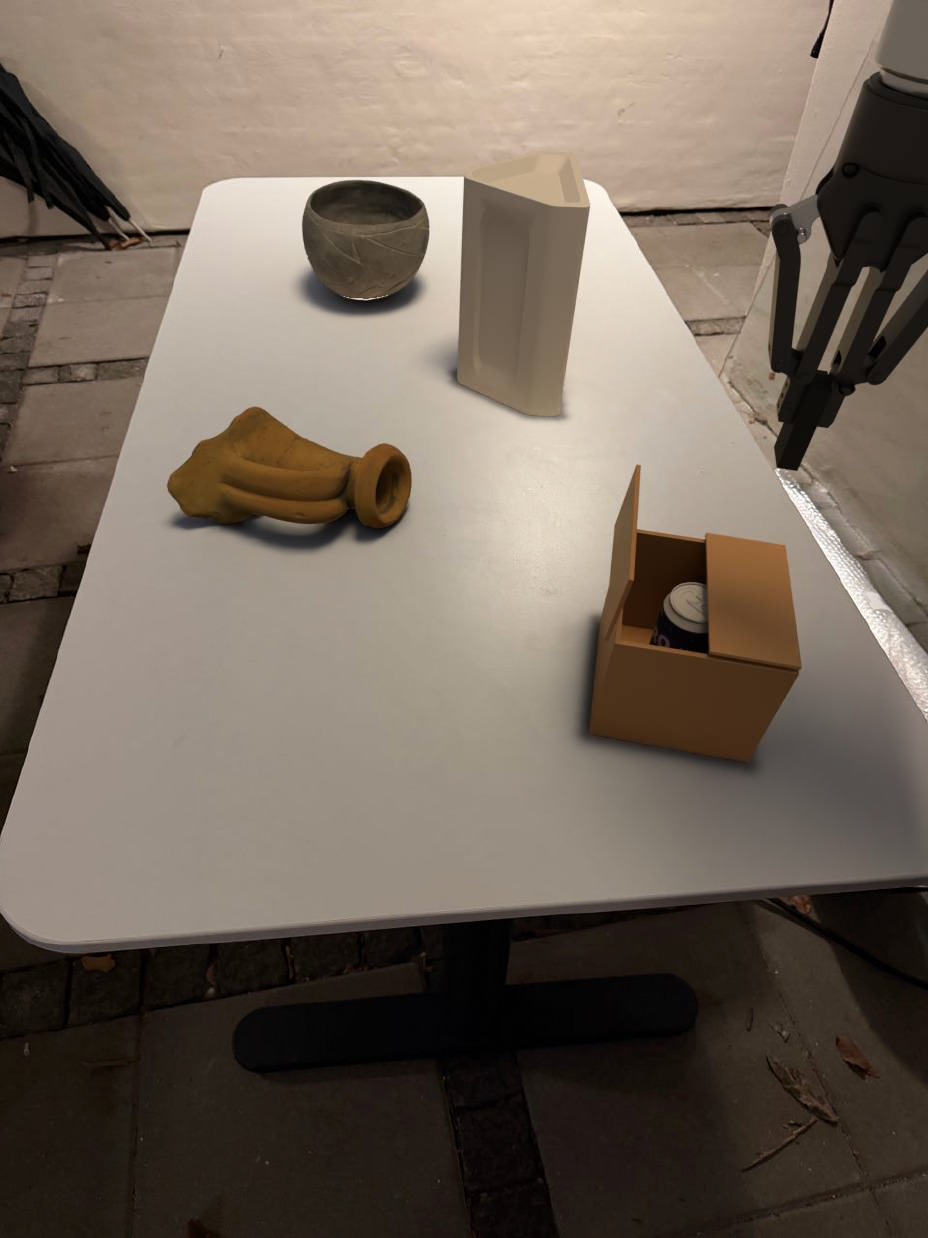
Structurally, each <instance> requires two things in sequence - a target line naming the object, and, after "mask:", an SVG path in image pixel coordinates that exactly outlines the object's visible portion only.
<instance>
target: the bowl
mask: <svg viewBox="0 0 928 1238" xmlns="http://www.w3.org/2000/svg"><path fill="white" fill-rule="evenodd" d="M426 207H427V206H426V204H425V203H424V202H423V200H422V199H421V198H420V197H418V196H417V195H416V194H414V193H413V192H411V191H409V190H407V189H406V188H402V187H399V186H397V185H396V186H395V185H392V184H389V183H386V182H381V181H375V180H369V179H368V180H365V179H346V180H339V181H334V182H331V183H328V184H325V185H323V186H321V187H318V188H317V189H315V190H313V191H312V193H311V194H309V196H308V198H307V200H306V202H305V206H304V209H303V214H302V219H301V234H302V241H303V249H304V251H305V255H306V256H307V260H308V262H309V265H310V266H311V269H312V271H313V272H314V274H315V275H316V277H317V278H318V279H319V280H320V282H322V284H323V285H325V286H326V288H328V289H329V290H331V291H332V292H333V291H334V292H333V293H335V294H336V293H337V294H336V295H338V294H339V295H338V296H340V295H342V296H345V297H349V298H363V299H369V298H377V297H382V296H386V295H390V294H392V295H394V294H396V293H397V292H399V291H400V290H402V289H403V288H404V287H406V286H408V284H409V283H410V282H412V281H413V279H414V277H415V276H416V275H417V273H418V272H419V270H420V268H421V266H422V264H423V262H424V260H425V256H426V254H427V251H428V245H429V241H430V232H431V231H430V219H429V213H428V210H427V208H426ZM395 292H396V293H395ZM393 293H394V294H393ZM342 296H341V297H342ZM390 296H391V295H390Z"/></svg>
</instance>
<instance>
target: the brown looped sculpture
mask: <svg viewBox="0 0 928 1238" xmlns="http://www.w3.org/2000/svg"><path fill="white" fill-rule="evenodd" d="M412 483H413V479H412V469H411V464H410V461H409V460H408V458H407V456H406V454H404V453H403V452H402V451H401V450H400V449H399V448H398V447H396V446H395V445H393V444H390V443H385V442H383V443H379V444H377V445H375V446H373V447H371V448H370V449H368V450H367V451H366V452H365V453H364V455H363V457H361V456H354V455H348V454H345V453H341V452H338V451H335V450H333V449H330V448H329V447H326V446H324V445H321V444H319V443H317V442H315V441H312V440H311V439H310V440H309V439H307V438H304V437H303V436H301V435H299V434H298V433H296V432H295V431H294V430H292V429H291V428H290V427H289V426H287V425H285V424H284V423H283V422H282V421H280V420H279V419H277V418H276V417H274V416H273V415H272V414H270V412H268V411H267V410H266V409H264V408H263V407H259V406H250V407H248V408H247V409H244V410H243V411H242V412H241V413H240V414H237V415H236V416H235V417H234V418H233V419H232V421H231V422H230V423H229V425H228V427H226V428H225V430H222V432H220V433H219V434H217V435H215V436H213V437H211V438H210V437H209V438H207V439H202V440H200V441H199V442H198V443H197V444H196V446H195V447H194V449H193V450H192V452H191V455H190V456H189V457H188V458H187V460H185V462H183V463H182V464H181V465H180V466H179V467H178V468H177V469H175V470H174V471H172V473H171V474H169V477H168V480H167V484H166V488H167V492H168V493H169V494H170V496H171V497H172V498H173V499H174V500H175V502H176V503H177V504H178V507H179V508H180V510H181V511H182V513H183V515H185V516H186V517H187V518H192V519H198V520H211V521H213V522H214V523H219V524H224V525H225V524H226V525H227V524H229V525H230V524H236V523H239V522H242V521H244V520H245V519H247V518H249V517H250V516H252V515H257V516H262V517H266V518H269V519H272V520H273V519H274V520H277V521H281V522H287V523H293V524H298V525H320V524H321V525H322V524H326V523H327V524H328V523H332V522H334V521H335V520H337V519H339V518H340V517H342V516H343V515H344V514H345V513H346V512H347V511H348V510H349V509H355V512H356V515H357V518H358V519H359V521H360V522H361V523H362V524H363V525H364V526H368V527H370V528H374V529H383V528H386V527H390V526H391V525H393V524H394V523H396V522H397V521H398V520H399V519H400V517H401V516H402V515H403V513H404V511H405V509H406V507H407V505H408V502H409V500H410V496H411V493H412V485H413V484H412Z"/></svg>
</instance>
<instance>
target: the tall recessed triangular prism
mask: <svg viewBox="0 0 928 1238" xmlns="http://www.w3.org/2000/svg"><path fill="white" fill-rule="evenodd" d="M578 159H579V158H578V155H577V154H576V153H573V152H564V151H563V152H562V151H538V152H533V153H529V154H525V155H521V156H517V157H516V156H515V157H512V158H508V159H504V160H499V161H495V162H490V163H486V164H481V165H477V166H473V167H470V168H469V167H468V168H466V169H464V171H463V189H462V191H463V193H462V219H461V220H462V221H461V222H462V223H461V224H462V225H461V250H460V253H461V254H460V279H459V280H460V281H459V282H460V284H459V309H458V310H459V311H458V313H459V315H458V338H457V339H458V340H457V341H458V343H457V367H456V370H457V371H456V373H457V374H456V380H457V383H458V384H460V385H462V386H465V387H466V388H468V389H470V390H473V391H475V392H477V393H478V394H482V395H484V396H486V397H488V398H490V399H492V400H494V401H497V402H499V403H501V404H503V405H505V406H508V407H510V408H511V409H514V410H516V411H518V412H520V413H522V414H525V415H527V416H528V415H529V416H539V417H557V416H559V415H560V413H561V406H562V401H563V393H564V387H565V379H566V373H567V365H568V358H569V352H570V345H571V339H572V331H573V324H574V318H575V312H576V305H577V297H578V291H579V285H580V277H581V271H582V265H583V257H584V250H585V244H586V237H587V230H588V223H589V218H590V217H589V216H590V211H591V210H590V209H591V202H590V198H589V195H588V192H587V188H586V187H587V186H586V184H585V181H584V177H583V174H582V170H581V167H580V162H579V160H578Z"/></svg>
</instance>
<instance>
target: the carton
mask: <svg viewBox="0 0 928 1238" xmlns="http://www.w3.org/2000/svg"><path fill="white" fill-rule="evenodd" d="M641 467H642V465H641V464H636V465H635V468H634V470H633V473H632V475H631V479H630V481H629V484H628V487H627V490H626V493H625V494H624V495H625V496H624V498H623V501H622V503H621V507H620V508H619V512H618V515H617V518H616V520H615V523H614V527H613V538H612V548H611V559H610V570H609V580H608V581H609V583H608V588H607V591H606V596H605V599H604V604H603V608H602V611H601V616H600V620H599V628H598V629H599V630H598V639H597V649H596V657H595V669H594V679H593V687H592V688H593V689H592V699H591V709H590V718H589V719H590V720H589V728H588V729H589V730H588V735H593V736H597V737H604V738H609V739H614V740H621V741H625V742H632V743H636V744H643V745H647V746H653V747H660V748H664V749H670V750H676V751H681V752H687V753H693V754H698V755H703V756H710V757H713V758H715V757H716V758H721V759H724V760H725V759H727V760H731V761H737V762H743V763H749V761H750V759H751V758H752V756H753V754H754V753H755V751H756V750H757V748H758V746H759V744H760V743H761V741H762V739H763V737H764V736H765V734H766V732H767V730H768V729H769V727H770V725H771V723H772V722H773V720H774V718H775V717H776V715H777V713H778V712H779V710H780V708H781V707H782V705H783V703H784V701H785V700H786V697H787V696H788V694H789V693H790V691H791V689H792V687H793V685H794V684H795V682H796V680H797V679H798V677H799V676H800V670H798V669H792V668H786V667H780V666H775V665H769V664H763V663H758V662H752V661H746V660H740V659H735V658H729V657H723V656H717V655H712V654H711V655H709V654H703V653H697V652H691V651H685V650H679V649H673V648H667V647H661V646H655V645H649V643H650V640H651V637H652V634H653V631H654V628H655V625H656V622H657V619H658V616H659V613H660V610H661V607H662V604H663V601H664V599H665V598H666V596H667V595H669V594H670V593H671V592H672V590H673V589H674V588H675V587H676V586H678V585H680V584H683V583H689V582H693V583H700V584H704V585H706V586H707V583H706V549H705V538H700V537H699V538H698V537H691V536H685V535H680V534H679V535H678V534H672V533H666V532H659V531H652V530H646V529H639V528H638V520H639V519H638V518H639V516H638V515H639V505H640V503H639V501H640V489H641V487H640V485H641V471H642V470H641V469H642V468H641Z"/></svg>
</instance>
